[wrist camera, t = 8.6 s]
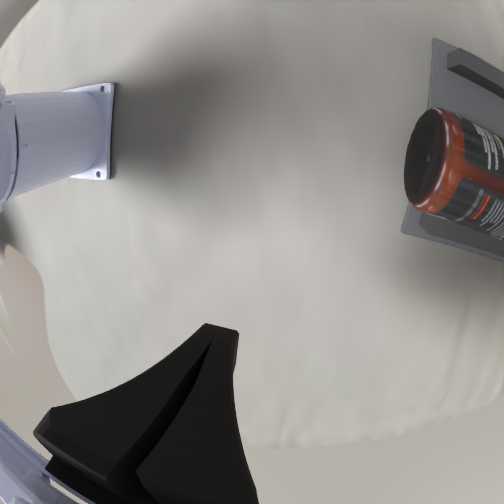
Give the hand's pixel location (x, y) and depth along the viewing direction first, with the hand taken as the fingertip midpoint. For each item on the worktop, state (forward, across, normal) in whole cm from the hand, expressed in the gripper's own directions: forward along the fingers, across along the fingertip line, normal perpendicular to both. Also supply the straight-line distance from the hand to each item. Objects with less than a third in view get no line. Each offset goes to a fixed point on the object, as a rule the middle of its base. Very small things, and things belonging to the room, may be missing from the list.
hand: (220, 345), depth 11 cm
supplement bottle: (+7, -8, -8) cm, 13 cm away
